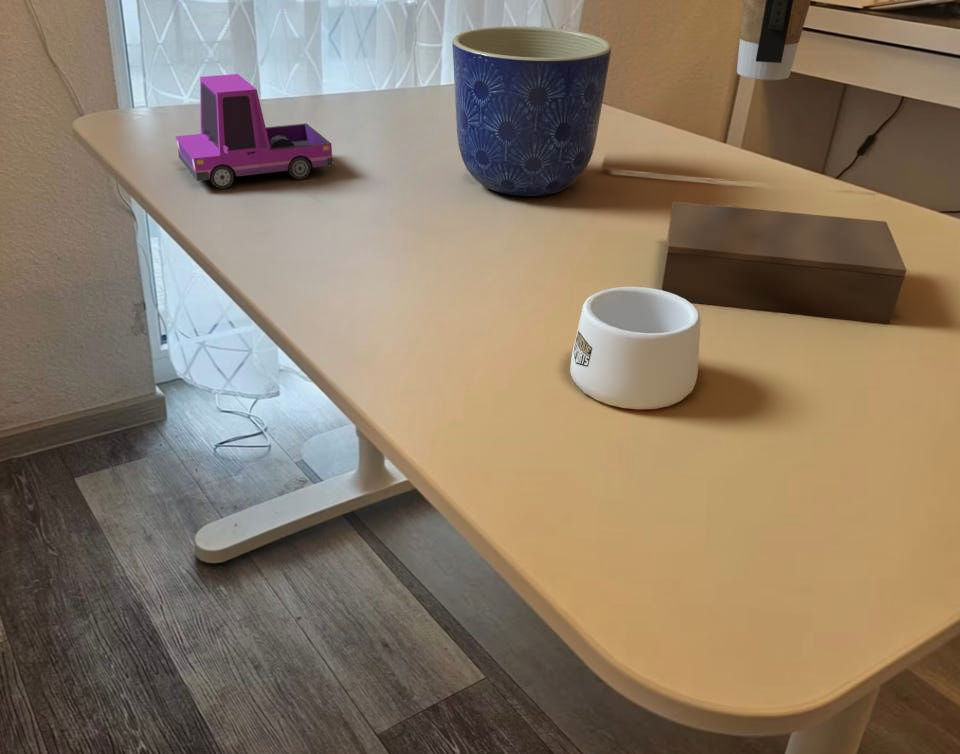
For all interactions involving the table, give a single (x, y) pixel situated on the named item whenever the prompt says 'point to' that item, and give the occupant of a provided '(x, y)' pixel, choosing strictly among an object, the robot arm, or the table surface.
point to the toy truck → (246, 137)
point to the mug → (636, 348)
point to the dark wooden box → (783, 262)
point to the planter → (528, 105)
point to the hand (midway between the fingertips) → (766, 53)
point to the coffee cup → (751, 34)
